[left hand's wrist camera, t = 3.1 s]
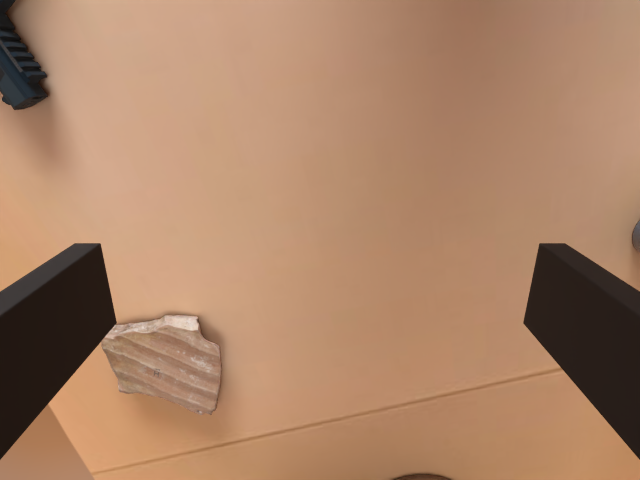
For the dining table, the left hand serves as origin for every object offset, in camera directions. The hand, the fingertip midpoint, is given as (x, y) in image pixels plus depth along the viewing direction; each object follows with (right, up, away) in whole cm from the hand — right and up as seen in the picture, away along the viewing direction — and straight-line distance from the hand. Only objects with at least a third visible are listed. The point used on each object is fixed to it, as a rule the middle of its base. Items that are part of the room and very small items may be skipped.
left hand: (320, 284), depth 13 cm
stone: (-17, -13, +35) cm, 41 cm away
